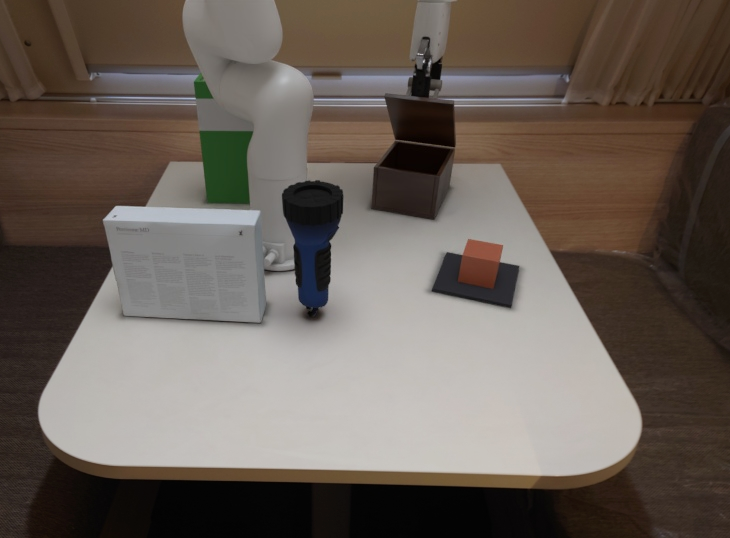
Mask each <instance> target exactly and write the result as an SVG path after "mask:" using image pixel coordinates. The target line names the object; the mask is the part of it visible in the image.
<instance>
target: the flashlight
mask: <svg viewBox="0 0 730 538" xmlns="http://www.w3.org/2000/svg"><path fill="white" fill-rule="evenodd" d="M282 205H283V213H284V217H285V218H286V221H287V223H288V226H289V228H290V230H291V233H292V235H293V237H294V239H295V244H294V246H293V249H294V265H295V266H294V268H295V269H294V277H295V279H294V280H295V285H296V287H297V296H298V301H299V303H300V304H301V305H302V306H304V307H305V310H308V311H307V313H306V315H307V316H308V317H309V318H314V317H315V316H316V315H317V313H318V311H319V308H323V307H326V305H327V304H328V301H329V288H330V287H329V285H330V284H331V281H332V279H331V275H332V270H331V269H332V258H331V257H332V244H331V241H332V239H333V238H334V237H335V235H336V234H337V232H338V231H339V228H340V226H339V225H340V223H341V219H342V216H343V214H344V190H343V189H342V188H341V187H340V185H338V184H337V185H335V184H333V183H330V182H327V181H321V180H320V179H316V180H313V181H312V180H307V181H305V182H298V183H296V184H294V185H290V186H288V188H285V189H284V190H283V193H282Z"/></svg>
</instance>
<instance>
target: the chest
mask: <svg viewBox="0 0 730 538" xmlns="http://www.w3.org/2000/svg"><path fill="white" fill-rule="evenodd" d="M455 153H456V147H455V148H454V147H446V146H439V145H431V144H424V143H416V142H408V141H401V140H394V142H393V143H392V144H391V145H390V146H389V148H388V149H387V150H386V151H385V153H384V154H383V155H382V156H381V158H380V159H379V160H378V161H377V163H376V164H375V165H374V167H373V176H372V189H371V191H372V192H371V206H370V207H371V208H370V209H371V210H377V211H382V212H387V213H394V214H400V215H404V216H411V217H418V218H422V219H429V220H435V219H436V217H437V215H438V212H439V211H440V208H441V206H442V204H443V202H444V200H445V198H446V197H447V194H448V192H449V190H450V187H451V180H452V174H453V168H454V160H455Z"/></svg>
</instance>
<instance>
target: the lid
mask: <svg viewBox="0 0 730 538" xmlns="http://www.w3.org/2000/svg"><path fill="white" fill-rule="evenodd" d="M412 80H413V76H409V78H408V80H407V90H406V94H398V93H397V94H395V93H387V92H386V93H384V102H385V104H386V110H387V113H388V117H389V121H390V125H391V130H392V134H393V137H394V141H403V142H411V143H419V144H426V145H434V146H442V147H449V148H455V149H456V147H457V136H456V135H457V134H456V133H457V132H456V110H455V100H454V99H453V100H452V99H445V98H439V94H440V92H441V91H442V87H443V80H442V79H440V80H436V79H431V84H430V91H431V92H433V96H432V97H429V98H426V97H416V96H411V90H412Z"/></svg>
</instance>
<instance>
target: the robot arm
mask: <svg viewBox="0 0 730 538" xmlns="http://www.w3.org/2000/svg"><path fill="white" fill-rule="evenodd" d="M416 1H417V3H416V9H415V14H414V19H413V25H412V26H413V27H412V32H411V33H412V34H411V41H410V42H411V43H410V49H409V50H410V51H409V56H408V57H409V58H408V59H409V62H412V63H413V62H415V64H414V66H413V67H414V68H413V73H412V77H413V80H412V90H411V95H410V96H416V97H426V98H430V84H431V79H436V80H442V69H443V58H444V57H443V56H444V54H445V52H446V49H447V45H448V38H449V37H448V36H449V31H450V30H449V29H450V21H451V11H452V3H453V2H457V1H458V0H416ZM181 17H182V18H181V19H182V20H181V21H182V29H183V33H184V37H185V39H186V43H187V45H188V47H189V50H190V52H191V54H192V56H193V58H194V60H195V63H196V65H197V67H198V69H199V72H200V73H202V76H203V78H204V80H205V82H206V84H207V86H208V88H209V90H210V93H211V94H212V96H213V98H214V100H215V101H216V103H217V104H218V105H219V106H220V107H221V108H222V109H223V110H224V111H226V112H227V113H229V114H231V115H233V116H236V117H238V118H241V119H243V120H246V121H248V122H250V123H252V124H253V125H254V131H253V135H252V138H251V140H250V143H249V146H248V151H247V169H248V181H249V196H250V203H249V210H259V211H261V227H262V244H263V261H264V270H267V271H272V272H273V271H274V272H283V271H284V272H285V271H291V270H295V268H294V266H295V265H294V249H293V246H294V244H295V239H294V237H293V235H292V233H291V230H290V228H289V226H288V223H287V221H286V218H285V217H284V213H283V205H282V193H283V190H284V189H285V188H288V186H290V185H294V184H296V183H298V182H305V181H308V142H309V132H310V124H311V120H312V115H313V112H314V111H313V110H314V103H315V96H314V90H313V86H312V84H311V83H310V81H309V79H308V77H307V76H306V75H305V74H304V73H303V72H302V71H300V70H299V69H297V68H295V67H293V66H291V65H289V64H287V63H283V62H279V61H276V60H273V59H274V58H275V57H276V56H277V55H278V54H279V52H280V50H281V47H282V44H283V39H284V38H283V37H284V35H283V33H284V31H283V26H282V22H281V17H280V14H279V11H278V7H277V5H276V2H275V0H185V1H184V4H183V8H182V15H181Z"/></svg>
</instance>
